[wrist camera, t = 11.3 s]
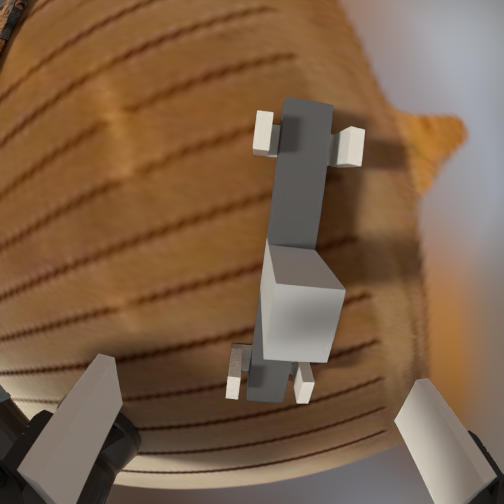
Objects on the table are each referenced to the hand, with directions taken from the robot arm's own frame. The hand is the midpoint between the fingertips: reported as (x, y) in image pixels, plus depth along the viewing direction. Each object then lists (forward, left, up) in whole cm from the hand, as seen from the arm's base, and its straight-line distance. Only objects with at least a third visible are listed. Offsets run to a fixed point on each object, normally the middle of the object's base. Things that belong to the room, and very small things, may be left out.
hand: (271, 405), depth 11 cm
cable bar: (+1, -2, -18) cm, 18 cm away
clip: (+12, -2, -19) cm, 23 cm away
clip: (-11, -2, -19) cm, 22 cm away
